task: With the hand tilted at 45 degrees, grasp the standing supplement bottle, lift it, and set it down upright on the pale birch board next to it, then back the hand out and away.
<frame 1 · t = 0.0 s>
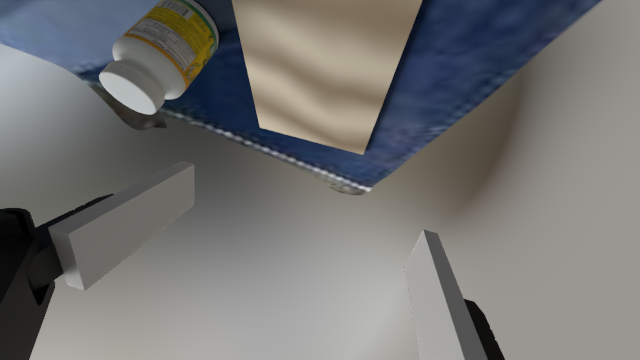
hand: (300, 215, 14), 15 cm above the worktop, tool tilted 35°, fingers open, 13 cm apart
birch board: (315, 73, 24), on the worktop
supplement bottle: (194, 23, 24), on the worktop
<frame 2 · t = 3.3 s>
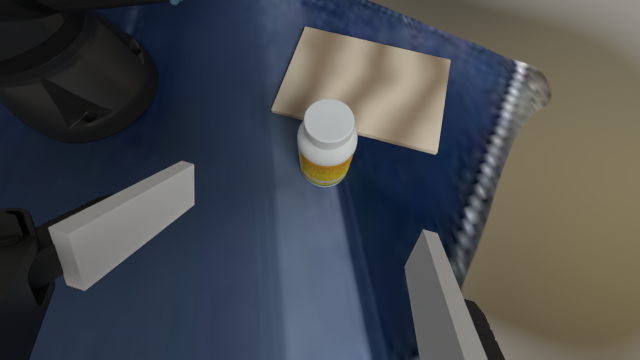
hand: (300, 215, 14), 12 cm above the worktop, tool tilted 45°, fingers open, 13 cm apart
birch board: (364, 86, 32), on the worktop
supplement bottle: (324, 166, 29), on the worktop
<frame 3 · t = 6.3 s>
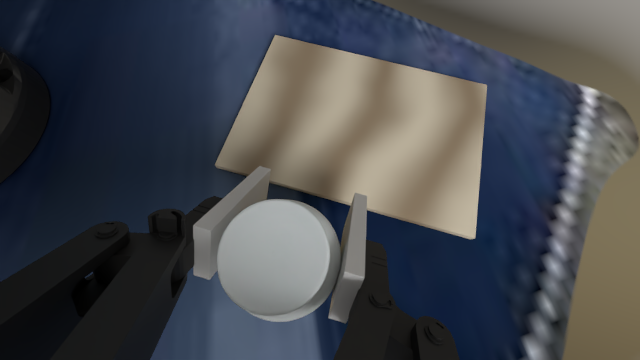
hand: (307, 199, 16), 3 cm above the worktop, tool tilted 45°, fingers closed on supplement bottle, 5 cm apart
birch board: (359, 125, 22), on the worktop
supplement bottle: (294, 260, 18), on the worktop, touching gripper
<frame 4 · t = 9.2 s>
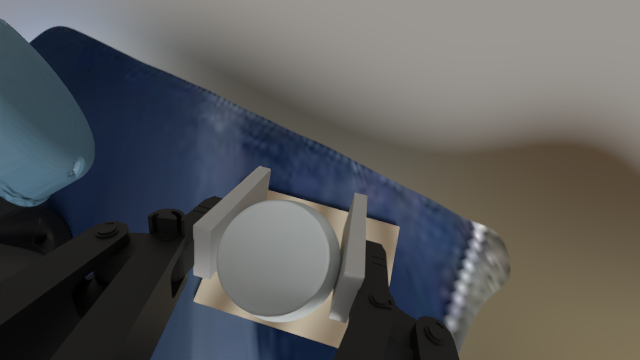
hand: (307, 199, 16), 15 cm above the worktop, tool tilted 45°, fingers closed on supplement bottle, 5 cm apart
birch board: (302, 262, 29), on the worktop
supplement bottle: (294, 260, 18), point 12 cm above the worktop, touching gripper
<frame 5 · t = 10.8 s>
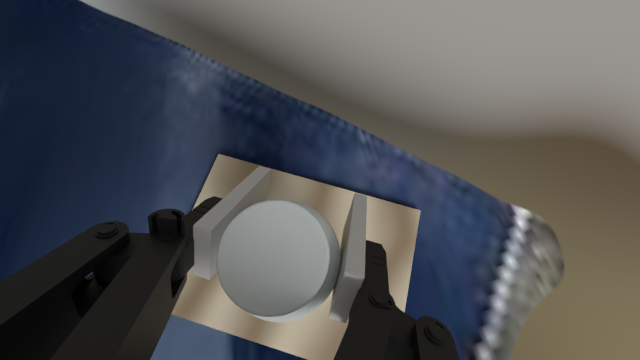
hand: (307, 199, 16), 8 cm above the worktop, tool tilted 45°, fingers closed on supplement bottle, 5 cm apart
birch board: (294, 255, 22), on the worktop
supplement bottle: (294, 260, 18), point 4 cm above the worktop, touching gripper
when the fingers open (5 cm above the worktop, at t = 11.9 s): supplement bottle stays where it is, resting on birch board.
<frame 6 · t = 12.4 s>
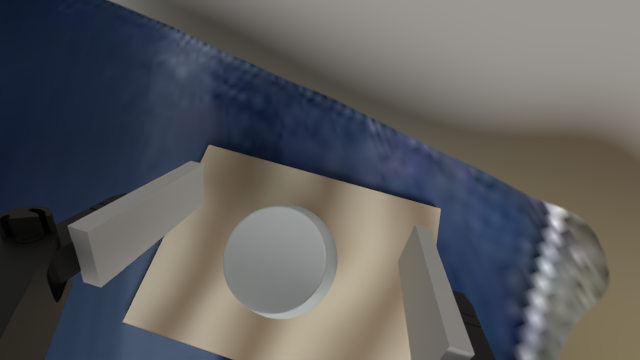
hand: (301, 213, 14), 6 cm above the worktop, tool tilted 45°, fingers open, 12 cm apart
birch board: (295, 260, 19), on the worktop
supplement bottle: (293, 261, 19), resting on birch board
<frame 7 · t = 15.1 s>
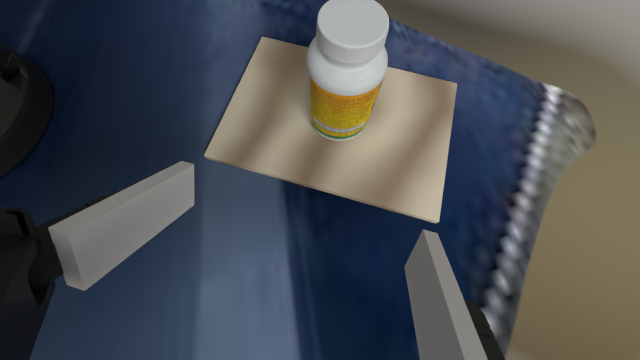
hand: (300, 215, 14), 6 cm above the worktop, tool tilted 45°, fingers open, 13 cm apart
birch board: (338, 120, 23), on the worktop
supplement bottle: (337, 118, 23), resting on birch board
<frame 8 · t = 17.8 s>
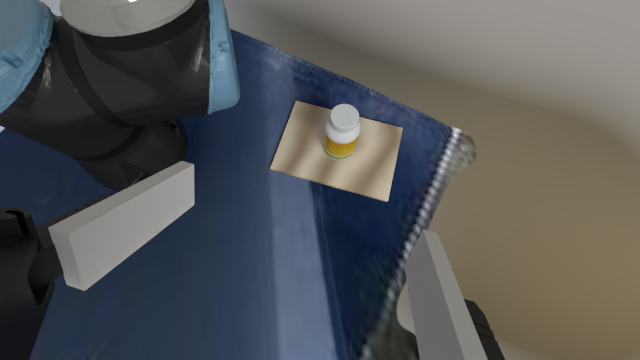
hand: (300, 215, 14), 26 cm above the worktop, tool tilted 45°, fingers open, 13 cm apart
birch board: (338, 148, 44), on the worktop
supplement bottle: (338, 147, 44), resting on birch board
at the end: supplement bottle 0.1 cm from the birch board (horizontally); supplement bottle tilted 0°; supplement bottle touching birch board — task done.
